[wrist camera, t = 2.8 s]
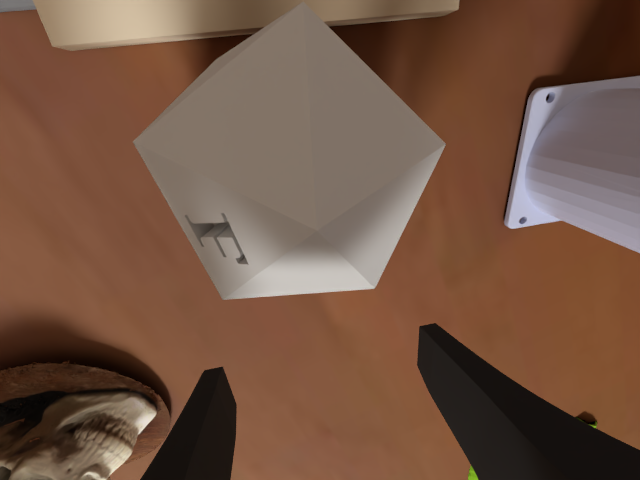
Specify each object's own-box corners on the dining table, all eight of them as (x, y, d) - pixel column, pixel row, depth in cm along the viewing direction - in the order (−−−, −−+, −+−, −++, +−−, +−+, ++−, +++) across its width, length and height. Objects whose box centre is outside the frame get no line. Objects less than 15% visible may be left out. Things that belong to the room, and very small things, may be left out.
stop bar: (446, -24, 13) (462, -34, 12) (443, 16, 14) (458, 9, 13) (53, 7, 11) (32, -2, 10) (71, 50, 12) (52, 46, 11)
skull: (111, 333, 16) (131, 560, 14) (179, 335, 26) (200, 467, 23) (-153, 407, 14) (-195, 691, 12) (28, 380, 24) (29, 530, 21)
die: (158, 87, 13) (-67, 74, 4) (350, 25, 13) (524, -116, 4) (236, 248, 17) (205, 416, 8) (384, 198, 17) (511, 309, 8)
